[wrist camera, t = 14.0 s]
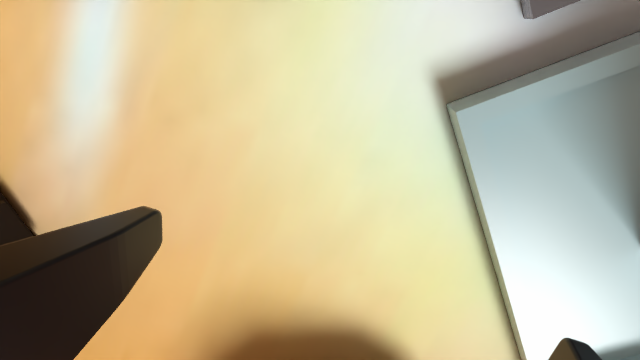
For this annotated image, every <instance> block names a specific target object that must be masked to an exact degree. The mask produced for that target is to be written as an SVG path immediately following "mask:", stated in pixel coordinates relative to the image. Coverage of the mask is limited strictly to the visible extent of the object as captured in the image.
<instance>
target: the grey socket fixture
mask: <svg viewBox="0 0 640 360" xmlns="http://www.w3.org/2000/svg"><path fill="white" fill-rule="evenodd" d="M577 1H580V0H521V5H522V10H523V15H524V18H525V19H534V18H537V17H539V16H542V15H544V14H547V13H549V12H552V11H554V10H557V9H559V8H562V7H565V6H567V5H570V4H572V3H575V2H577Z"/></svg>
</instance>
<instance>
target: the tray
mask: <svg viewBox="0 0 640 360" xmlns="http://www.w3.org/2000/svg"><path fill="white" fill-rule="evenodd" d="M446 105H447V109H448V112H449V115H450V119H451V122H452V126H453V129H454V132H455V136H456V139H457V143H458V146H459V149H460V153H461V156H462V160H463V163H464V166H465V170H466V173H467V177H468V180H469V183H470V187H471V190H472V194H473V197H474V200H475V204H476V207H477V211H478V214H479V217H480V221H481V224H482V228H483V231H484V234H485V238H486V241H487V245H488V248H489V251H490V255H491V258H492V262H493V265H494V269H495V272H496V275H497V279H498V282H499V286H500V289H501V292H502V296H503V299H504V303H505V306H506V309H507V313H508V316H509V320H510V323H511V326H512V330H513V333H514V337H515V340H516V343H517V347H518V350H519V354H520V357H521V360H548V359H549V357H550V356H551V354H552V353H553V351H554V350H555V348H556V347H557V345H558V343H559V342H560V341H561V340H562V339H563V338H571V339H575V340H578V341H581V342H584V343H586V344H588V345H589V346H590V347H591V348H592V349H593V350H594V351H595V352H596V353H597V354H598V355H599V356H600V358H601V359H602V360H640V31H639V32H637V33H634V34H631V35H629V36H626V37H623V38H621V39H618V40H616V41H613V42H610V43H608V44H605V45H602V46H600V47H597V48H594V49H592V50H589V51H586V52H584V53H581V54H578V55H576V56H573V57H570V58H568V59H565V60H562V61H560V62H557V63H555V64H552V65H549V66H547V67H544V68H541V69H539V70H536V71H533V72H531V73H528V74H525V75H523V76H520V77H517V78H515V79H512V80H509V81H507V82H504V83H502V84H499V85H496V86H494V87H491V88H488V89H486V90H483V91H480V92H478V93H475V94H472V95H470V96H467V97H464V98H462V99H459V100H456V101H454V102H451V103H448V104H446Z"/></svg>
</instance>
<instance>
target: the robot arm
mask: <svg viewBox="0 0 640 360" xmlns="http://www.w3.org/2000/svg"><path fill="white" fill-rule="evenodd" d="M161 243H162V215H161V213H160V211H158V210H156V209H153V208H150V207H146V206H141V207H138V208H134V209H130V210H127V211H123V212H120V213H116V214H112V215H109V216H105V217H102V218H98V219H94V220H91V221H87V222H84V223H80V224H76V225H73V226H69V227H66V228H62V229H58V230H55V231H51V232H47V233H44V234H40V235H37V236H33V234H32V233H31V232H30V230H29V229H28V228H27V226H26V225H25V224H24V222H23V221H22V220H21V218H20V217H19V216H18V214H17V213H16V212H15V210H14V209H13V208H12V206H11V205H10V204H9V202H8V201H7V200H6V198H5V197H4V196H3V195H2V193H1V192H0V360H73V359H74V358H75V357H76V356H77V355H78V354H79V352H80V351H81V350H82V349H83V348H84V346H85V345H86V344H87V343H88V342H89V341H90V339H91V338H92V337H93V336H94V335H95V334H96V332H97V331H98V330H99V329H100V328H101V326H102V325H103V324H104V323H105V322H106V321H107V319H108V318H109V317H110V316H111V315H112V314H113V312H114V311H115V310H116V309H117V308H118V306H119V305H120V304H121V303H122V301H123V300H124V299H125V297H126V296H127V295H128V293H129V292H130V291H131V289H132V288H133V286H134V285H135V283H136V282H137V280H138V279H139V277H140V276H141V274H142V273H143V272H144V270H145V269H146V267H147V266H148V264H149V263H150V261H151V260H152V258H153V257H154V256H155V254H156V253H157V251H158V250H159V248H160V246H161ZM548 360H602V359H601V358H600V356H599V355H598V354H597V353H596V352H595V351H594V350H593V349H592V348H591V347H590V346H589V345H588V344H586V343H584V342H581V341H578V340H575V339H571V338H563V339H562V340H561V341H560V342H559V343H558V345H557V347H556V348H555V350H554V351H553V353H552V354H551V356H550V357H549V359H548Z"/></svg>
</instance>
